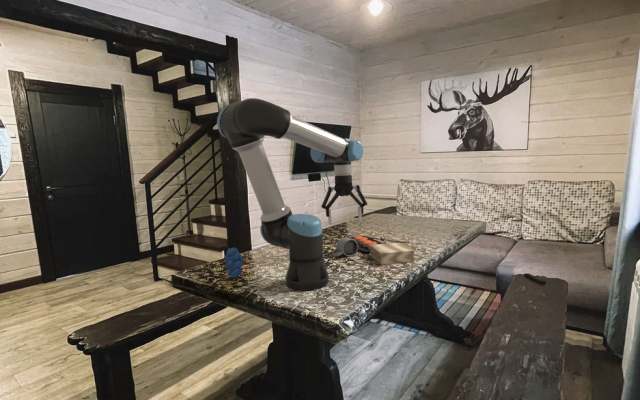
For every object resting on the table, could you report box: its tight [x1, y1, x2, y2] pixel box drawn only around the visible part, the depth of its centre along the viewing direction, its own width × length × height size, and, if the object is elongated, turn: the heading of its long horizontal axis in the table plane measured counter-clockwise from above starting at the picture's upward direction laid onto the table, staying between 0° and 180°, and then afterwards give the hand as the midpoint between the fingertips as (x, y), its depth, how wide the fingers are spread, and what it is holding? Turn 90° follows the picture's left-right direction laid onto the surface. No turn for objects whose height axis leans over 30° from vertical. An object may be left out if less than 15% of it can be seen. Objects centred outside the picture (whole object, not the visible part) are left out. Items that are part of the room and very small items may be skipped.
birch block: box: [369, 242, 415, 266], centre depth 140 cm, size 14×14×5 cm
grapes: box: [224, 246, 245, 279], centre depth 123 cm, size 12×7×12 cm, turn 41°
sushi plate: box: [347, 235, 409, 253], centre depth 165 cm, size 29×30×4 cm
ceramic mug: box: [332, 237, 359, 258], centre depth 148 cm, size 11×8×8 cm
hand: (345, 222), depth 146 cm, fingers open, 13 cm apart
